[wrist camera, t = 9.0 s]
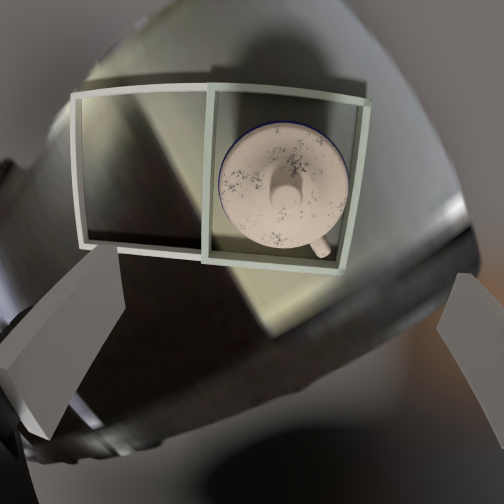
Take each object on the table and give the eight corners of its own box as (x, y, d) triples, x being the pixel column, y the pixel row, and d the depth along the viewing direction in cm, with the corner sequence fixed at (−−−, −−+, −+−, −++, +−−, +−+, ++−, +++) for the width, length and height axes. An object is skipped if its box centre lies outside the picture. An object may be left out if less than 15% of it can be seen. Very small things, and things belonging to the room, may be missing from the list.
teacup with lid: (214, 151, 29) (181, 173, 18) (298, 102, 27) (315, 94, 16) (277, 252, 33) (280, 320, 22) (356, 210, 30) (397, 262, 20)
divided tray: (84, 244, 34) (77, 250, 32) (76, 93, 26) (67, 93, 25) (340, 267, 33) (343, 275, 32) (365, 100, 26) (371, 99, 24)
